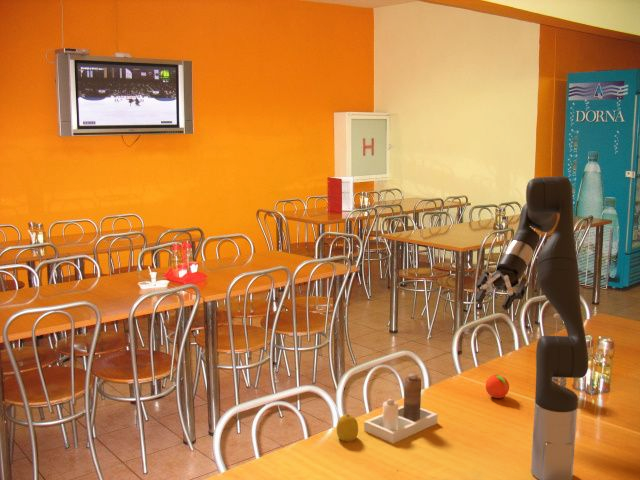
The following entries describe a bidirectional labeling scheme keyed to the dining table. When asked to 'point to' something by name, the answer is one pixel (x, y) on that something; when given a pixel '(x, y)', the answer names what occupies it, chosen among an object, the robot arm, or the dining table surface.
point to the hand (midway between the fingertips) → (491, 305)
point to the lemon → (347, 428)
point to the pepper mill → (412, 397)
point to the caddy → (400, 425)
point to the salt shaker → (390, 415)
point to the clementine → (497, 386)
